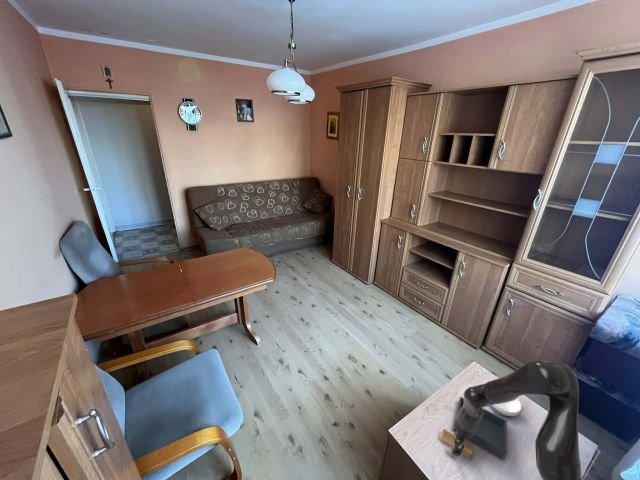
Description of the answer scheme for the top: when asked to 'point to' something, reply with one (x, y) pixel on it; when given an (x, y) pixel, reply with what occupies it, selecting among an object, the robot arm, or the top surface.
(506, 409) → the bowl
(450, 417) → the top surface
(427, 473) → the top surface
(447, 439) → the wooden block
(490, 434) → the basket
